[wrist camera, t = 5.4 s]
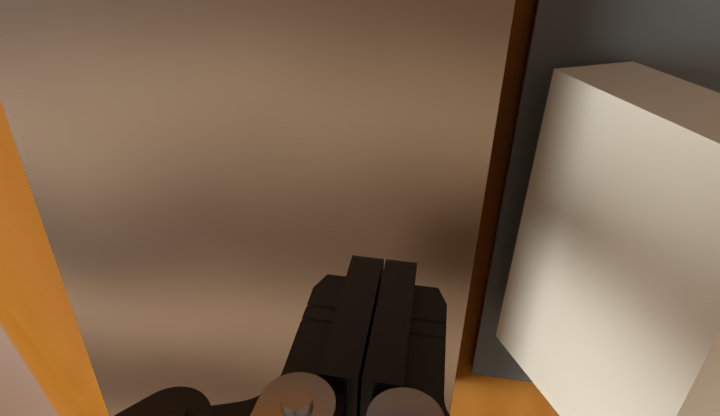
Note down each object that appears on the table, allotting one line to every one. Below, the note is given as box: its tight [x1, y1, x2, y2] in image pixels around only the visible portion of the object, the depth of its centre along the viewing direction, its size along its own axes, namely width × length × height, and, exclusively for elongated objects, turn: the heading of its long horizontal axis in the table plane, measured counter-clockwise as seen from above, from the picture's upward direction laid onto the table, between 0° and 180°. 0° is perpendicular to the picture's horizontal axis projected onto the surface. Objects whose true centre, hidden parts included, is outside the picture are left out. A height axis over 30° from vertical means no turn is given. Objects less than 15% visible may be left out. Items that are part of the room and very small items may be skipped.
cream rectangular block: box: [496, 61, 720, 416], centre depth 13 cm, size 9×6×2 cm
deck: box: [0, 0, 516, 416], centre depth 16 cm, size 18×12×4 cm, turn 179°
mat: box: [472, 0, 720, 382], centre depth 16 cm, size 16×12×1 cm
